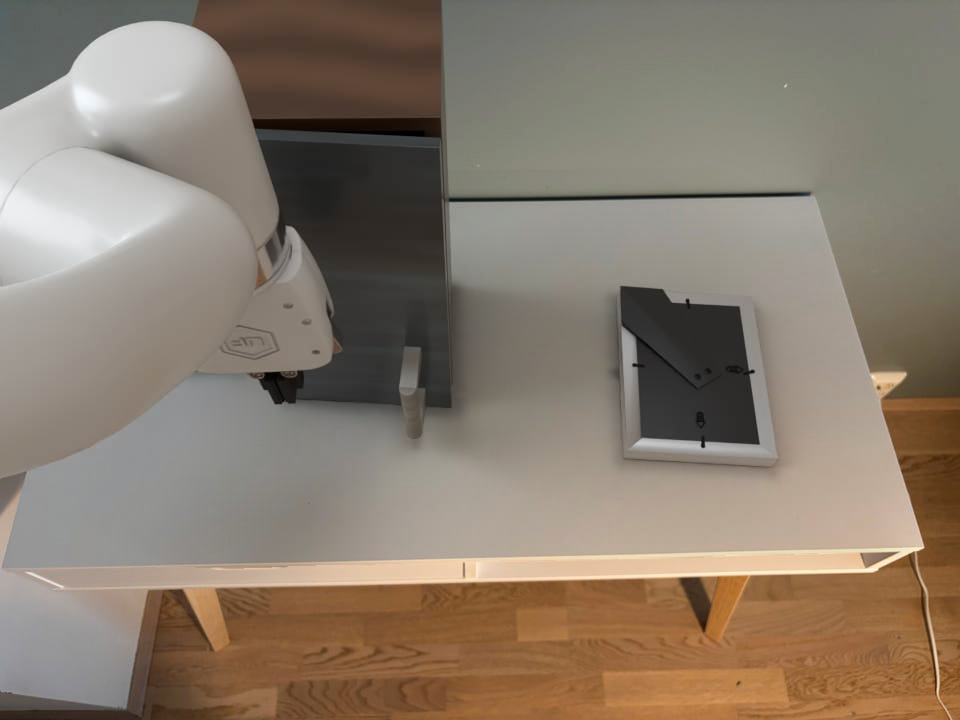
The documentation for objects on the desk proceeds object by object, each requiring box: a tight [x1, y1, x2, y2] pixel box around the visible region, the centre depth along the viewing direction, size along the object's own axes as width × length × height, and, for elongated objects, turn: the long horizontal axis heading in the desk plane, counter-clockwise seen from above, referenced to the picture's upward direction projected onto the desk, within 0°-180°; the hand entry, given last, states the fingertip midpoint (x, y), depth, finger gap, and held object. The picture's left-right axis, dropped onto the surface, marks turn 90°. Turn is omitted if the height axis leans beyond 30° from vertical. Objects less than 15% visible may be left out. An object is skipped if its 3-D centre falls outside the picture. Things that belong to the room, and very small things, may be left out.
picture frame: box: [616, 285, 779, 468], centre depth 82 cm, size 16×3×21 cm
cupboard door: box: [255, 129, 453, 441], centre depth 64 cm, size 6×18×38 cm, turn 87°
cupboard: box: [191, 0, 454, 387], centre depth 69 cm, size 14×18×38 cm
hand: (287, 387), depth 59 cm, fingers closed
